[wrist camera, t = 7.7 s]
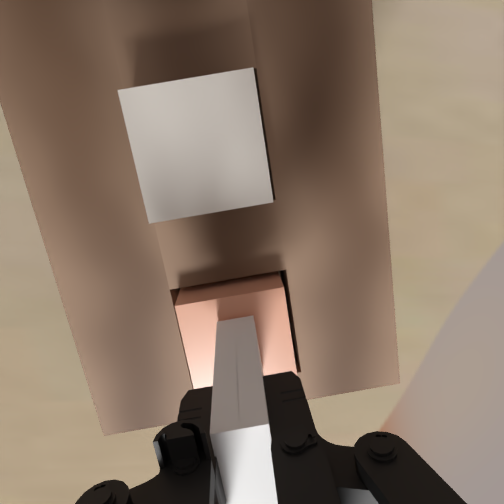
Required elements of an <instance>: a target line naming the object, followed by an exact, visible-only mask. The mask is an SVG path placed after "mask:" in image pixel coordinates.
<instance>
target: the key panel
mask: <svg viewBox="0 0 504 504" xmlns="http://www.w3.org/2000/svg"><path fill="white" fill-rule="evenodd" d="M252 67H253V68H254V75H255V81H256V88H257V95H258V101H259V108H260V115H261V121H262V128H263V135H264V142H265V148H266V155H267V162H268V168H269V175H270V182H271V188H272V195H273V202H272V203H267V204H261V205H255V206H249V207H243V208H237V209H232V210H226V211H220V212H214V213H208V214H202V215H197V216H191V217H185V218H179V219H173V220H167V221H162V222H156V223H150V224H149V222H148V218H147V213H146V209H145V205H144V201H143V196H142V192H141V188H140V184H139V179H138V175H137V171H136V167H135V163H134V158H133V154H132V150H131V146H130V141H129V137H128V133H127V129H126V124H125V120H124V116H123V112H122V107H121V103H120V99H119V95H118V90H121V89H127V88H133V87H139V86H145V85H151V84H157V83H163V82H169V81H175V80H181V79H187V78H193V77H199V76H205V75H211V74H217V73H223V72H228V71H234V70H240V69H246V68H252ZM0 103H1V106H2V109H3V113H4V116H5V119H6V122H7V125H8V129H9V132H10V135H11V138H12V142H13V145H14V148H15V151H16V154H17V158H18V161H19V164H20V167H21V171H22V174H23V177H24V180H25V183H26V187H27V190H28V193H29V196H30V200H31V203H32V206H33V209H34V212H35V216H36V219H37V222H38V225H39V228H40V232H41V235H42V238H43V241H44V245H45V248H46V251H47V254H48V257H49V261H50V264H51V267H52V270H53V274H54V277H55V280H56V283H57V286H58V290H59V293H60V296H61V299H62V302H63V306H64V309H65V312H66V315H67V319H68V322H69V325H70V328H71V331H72V335H73V338H74V341H75V344H76V348H77V351H78V354H79V357H80V360H81V364H82V367H83V370H84V373H85V377H86V380H87V383H88V386H89V389H90V393H91V396H92V399H93V402H94V405H95V409H96V412H97V415H98V418H99V422H100V425H101V428H102V431H103V434H104V436H106V435H112V434H117V433H123V432H129V431H134V430H140V429H145V428H151V427H157V426H162V425H168V424H171V423H174V422H177V418H178V414H179V407H180V402H181V400H182V398H183V397H184V396H185V394H186V393H187V391H188V390H192V389H194V388H193V383H192V379H191V375H190V370H189V366H188V362H187V357H186V353H185V349H184V344H183V340H182V336H181V331H180V327H179V323H178V318H177V314H176V310H175V303H176V300H177V297H178V294H179V291H180V288H182V287H188V286H194V285H199V284H205V283H211V282H217V281H222V280H228V279H234V278H240V277H246V276H251V275H257V274H263V273H269V272H274V271H278V273H279V275H280V278H281V281H282V283H283V286H284V291H285V297H286V304H287V311H288V317H289V324H290V331H291V337H292V344H293V350H294V357H295V364H296V370H297V376H298V377H299V378H300V379H301V382H302V386H303V389H304V392H305V396H306V399H307V400H309V399H314V398H320V397H326V396H331V395H337V394H343V393H348V392H354V391H360V390H365V389H371V388H376V387H382V386H388V385H393V384H399V383H400V376H399V363H398V349H397V336H396V322H395V309H394V295H393V282H392V268H391V255H390V241H389V228H388V214H387V201H386V187H385V174H384V160H383V147H382V133H381V120H380V106H379V93H378V79H377V66H376V52H375V39H374V26H373V12H372V0H0Z"/></svg>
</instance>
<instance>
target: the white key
mask: <svg viewBox="0 0 504 504" xmlns="http://www.w3.org/2000/svg"><path fill="white" fill-rule="evenodd" d="M118 95H119V99H120V103H121V107H122V112H123V116H124V120H125V124H126V129H127V133H128V137H129V141H130V146H131V150H132V154H133V158H134V163H135V167H136V171H137V175H138V179H139V184H140V188H141V192H142V196H143V201H144V205H145V209H146V213H147V218H148V222H149V224H150V223H156V222H162V221H167V220H173V219H179V218H185V217H191V216H197V215H202V214H208V213H214V212H220V211H226V210H232V209H237V208H243V207H249V206H255V205H261V204H267V203H272V202H273V195H272V188H271V182H270V175H269V168H268V162H267V155H266V148H265V142H264V135H263V128H262V121H261V115H260V108H259V101H258V95H257V88H256V81H255V75H254V68H253V67H252V68H246V69H240V70H234V71H228V72H223V73H217V74H211V75H205V76H199V77H193V78H187V79H181V80H175V81H169V82H163V83H157V84H151V85H145V86H139V87H133V88H127V89H121V90H118Z"/></svg>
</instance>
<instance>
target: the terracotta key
mask: <svg viewBox="0 0 504 504" xmlns="http://www.w3.org/2000/svg"><path fill="white" fill-rule="evenodd" d="M175 310H176V314H177V318H178V323H179V327H180V331H181V336H182V340H183V344H184V349H185V353H186V357H187V362H188V366H189V370H190V375H191V379H192V383H193V388H194V389H197V388H203V387H209V386H213V374H214V358H215V342H216V327H217V322H218V321H224V320H229V319H235V318H241V317H247V316H252V315H253V316H254V322H255V328H256V333H257V339H258V345H259V350H260V356H261V362H262V367H263V373H264V376H265V375H271V374H277V373H282V372H288V371H292V372H294V373H295V374H296V375H297V370H296V364H295V357H294V350H293V344H292V337H291V331H290V324H289V317H288V311H287V304H286V297H285V291H284V286H283V283H282V281H281V278H280V275H279V273H278V271H274V272H269V273H263V274H257V275H251V276H246V277H240V278H234V279H228V280H222V281H217V282H211V283H205V284H199V285H194V286H188V287H182V288H180V291H179V294H178V297H177V300H176V303H175Z"/></svg>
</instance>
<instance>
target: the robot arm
mask: <svg viewBox="0 0 504 504" xmlns="http://www.w3.org/2000/svg"><path fill="white" fill-rule="evenodd" d="M153 444H154V448H155V452H156V455H157V459H158V463H159V466H160V472H159V474H158V475H157V476H155V477H154V478H153V479H151V480H149V481H147V482H145V483H143V484H141V485H138V486H136V487H134V488H132V489H129V488H128V486H127V485H126V484H125V483H124V482H123V481H119V480H109V481H104V482H101V483H99V484H97V485H94V486H93V487H91V488H90V489H89V490H87V491H86V492H85V493H84V494H83V495H82V496H81V497H80V498H79V499H78V500H77V502H76V503H75V504H467V503H466V502H465V501H463V499H462V498H460V496H459V495H458V494H457V493H456V492H455V491H454V490H453V489H452V488H451V487H450V486H449V485H448V484H447V483H446V482H445V481H444V480H443V479H442V478H441V477H440V476H439V475H438V474H437V473H436V472H435V471H434V470H433V469H432V468H431V467H430V466H429V465H428V464H427V463H426V462H425V461H424V460H423V459H422V458H421V457H420V456H419V455H418V454H417V453H416V452H415V450H414V449H412V447H411V446H410V445H408V443H406V441H404V440H403V439H402V438H400V437H399V436H397V435H394V434H391V433H388V432H378V431H376V432H372V433H367V434H365V435H363V436H362V437H360V438H359V439H358V440H357V442H356V443H355V445H354V447H349V446H340V445H335V444H332V443H329V442H327V441H326V440H324V439H323V438H322V437H321V436H320V435H319V434H318V433H317V431H316V429H315V425H314V422H313V419H312V415H311V412H310V409H309V406H308V402H307V399H306V396H305V392H304V389H303V386H302V382H301V379H300V378H299V377H298V376H297V375H296V374H295V373H294V372H292V371H288V372H282V373H277V374H271V375H265V376H264V373H263V367H262V362H261V356H260V350H259V345H258V339H257V333H256V328H255V322H254V316H253V315H252V316H247V317H241V318H235V319H229V320H224V321H218V322H217V327H216V342H215V358H214V374H213V386H209V387H203V388H197V389H192V390H188V391H187V393H186V394H185V396H184V397H183V398H182V400H181V402H180V407H179V414H178V418H177V422H174V423H171V424H169V425H168V426H166V427H164V428H163V429H162V430H161V431H160V432H159V433H158V434H157V435H156V437H155V439H154V441H153Z"/></svg>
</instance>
